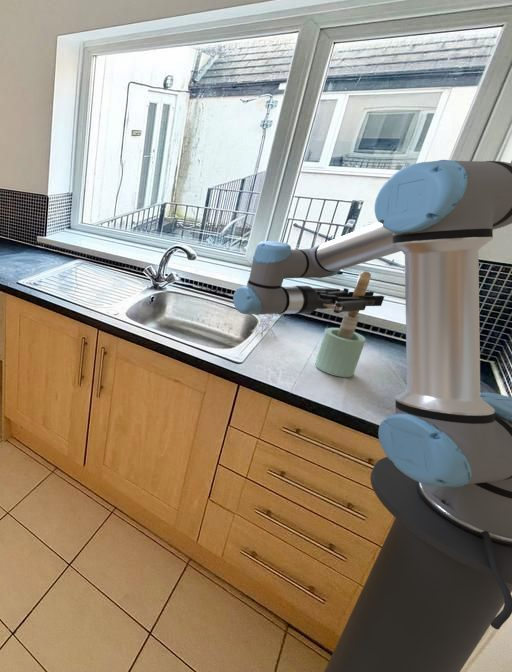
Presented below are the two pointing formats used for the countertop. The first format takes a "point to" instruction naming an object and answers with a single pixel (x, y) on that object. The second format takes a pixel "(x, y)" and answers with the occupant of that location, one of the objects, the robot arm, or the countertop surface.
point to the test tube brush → (266, 324)
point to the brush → (351, 316)
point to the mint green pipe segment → (339, 353)
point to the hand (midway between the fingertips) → (376, 298)
